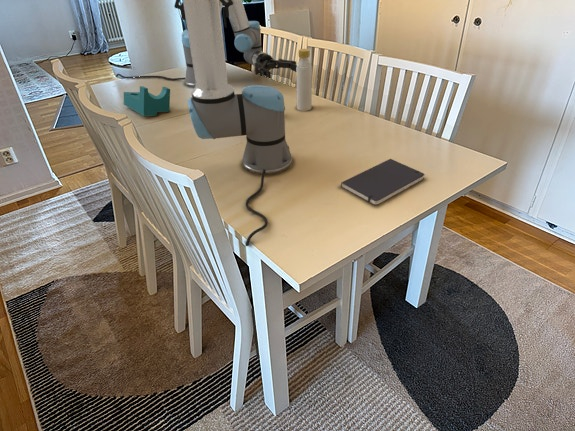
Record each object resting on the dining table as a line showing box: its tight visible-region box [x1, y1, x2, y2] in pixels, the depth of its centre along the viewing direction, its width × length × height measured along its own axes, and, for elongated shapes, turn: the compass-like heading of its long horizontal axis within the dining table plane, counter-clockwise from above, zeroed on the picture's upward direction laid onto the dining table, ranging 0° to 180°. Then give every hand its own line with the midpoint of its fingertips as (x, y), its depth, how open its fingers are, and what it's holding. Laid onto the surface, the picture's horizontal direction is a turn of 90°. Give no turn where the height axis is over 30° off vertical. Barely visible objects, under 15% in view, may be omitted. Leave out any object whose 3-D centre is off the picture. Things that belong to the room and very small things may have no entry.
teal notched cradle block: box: [123, 85, 171, 117], centre depth 163 cm, size 18×11×10 cm, turn 43°
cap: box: [298, 48, 310, 59], centre depth 151 cm, size 4×4×2 cm
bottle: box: [295, 57, 313, 112], centre depth 157 cm, size 6×6×22 cm
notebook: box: [340, 158, 425, 206], centre depth 114 cm, size 13×2×21 cm
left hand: (284, 72), depth 172 cm, fingers open, 13 cm apart
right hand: (207, 28), depth 146 cm, fingers open, 13 cm apart
